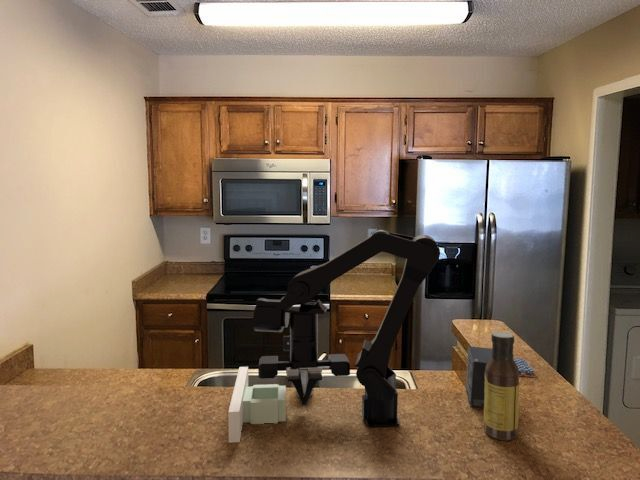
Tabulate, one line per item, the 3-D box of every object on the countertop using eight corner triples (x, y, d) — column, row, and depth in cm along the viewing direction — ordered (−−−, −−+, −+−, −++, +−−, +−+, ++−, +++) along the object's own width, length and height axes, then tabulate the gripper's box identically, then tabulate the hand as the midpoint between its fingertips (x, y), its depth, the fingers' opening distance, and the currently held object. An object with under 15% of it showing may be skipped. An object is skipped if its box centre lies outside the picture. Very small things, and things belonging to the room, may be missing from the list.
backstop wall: (248, 391, 109) (248, 366, 108) (239, 442, 87) (239, 411, 87) (239, 391, 109) (239, 366, 108) (228, 442, 87) (228, 411, 86)
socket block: (285, 403, 103) (285, 384, 103) (285, 423, 94) (285, 401, 94) (246, 404, 102) (246, 385, 102) (242, 424, 94) (242, 402, 93)
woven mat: (493, 377, 120) (494, 369, 120) (485, 362, 130) (485, 355, 130) (537, 379, 118) (537, 371, 118) (525, 364, 129) (525, 357, 128)
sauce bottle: (499, 422, 95) (503, 327, 93) (524, 437, 90) (530, 336, 88) (475, 429, 92) (479, 331, 90) (500, 445, 87) (505, 340, 85)
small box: (501, 411, 100) (503, 363, 99) (469, 408, 102) (471, 361, 101) (493, 390, 111) (495, 347, 110) (464, 387, 112) (466, 345, 111)
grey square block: (311, 388, 111) (311, 360, 110) (312, 395, 107) (312, 365, 107) (296, 389, 111) (296, 360, 110) (296, 395, 107) (296, 366, 106)
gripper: (343, 321, 106) (343, 387, 108) (260, 323, 104) (261, 390, 106) (350, 336, 95) (350, 410, 97) (257, 338, 93) (258, 413, 95)
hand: (304, 404), depth 99 cm, fingers closed
